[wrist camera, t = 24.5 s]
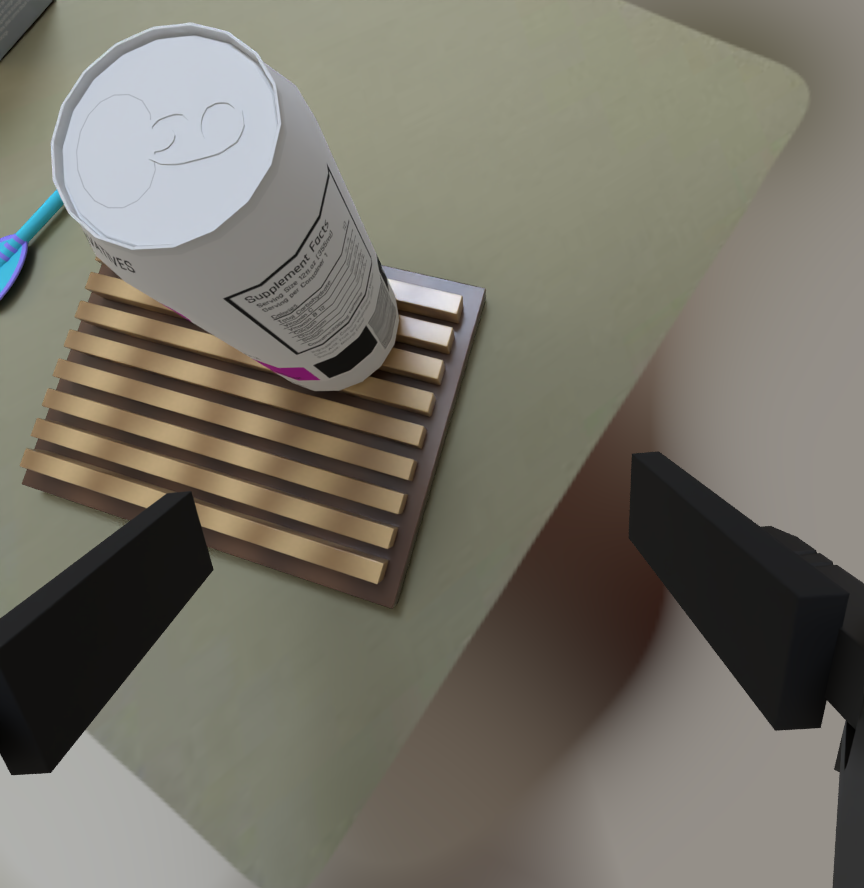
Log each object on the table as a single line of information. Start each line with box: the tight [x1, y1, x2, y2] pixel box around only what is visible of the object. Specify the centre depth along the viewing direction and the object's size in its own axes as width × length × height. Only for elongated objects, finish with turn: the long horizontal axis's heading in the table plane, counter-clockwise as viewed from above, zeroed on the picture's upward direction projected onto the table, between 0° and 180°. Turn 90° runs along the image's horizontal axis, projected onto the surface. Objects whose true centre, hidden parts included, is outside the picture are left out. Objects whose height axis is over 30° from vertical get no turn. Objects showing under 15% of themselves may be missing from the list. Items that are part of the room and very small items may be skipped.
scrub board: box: [20, 256, 486, 609], centre depth 30 cm, size 26×20×3 cm
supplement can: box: [51, 23, 399, 391], centre depth 21 cm, size 8×8×15 cm
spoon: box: [0, 190, 64, 300], centre depth 34 cm, size 25×4×1 cm, turn 141°
